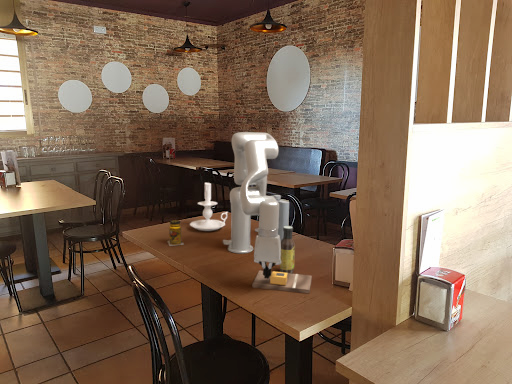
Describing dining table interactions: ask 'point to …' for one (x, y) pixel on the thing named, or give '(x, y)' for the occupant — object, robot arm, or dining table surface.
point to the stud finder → (278, 278)
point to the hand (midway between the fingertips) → (267, 277)
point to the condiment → (175, 233)
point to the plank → (293, 283)
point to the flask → (282, 215)
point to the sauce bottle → (287, 251)
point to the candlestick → (208, 214)
